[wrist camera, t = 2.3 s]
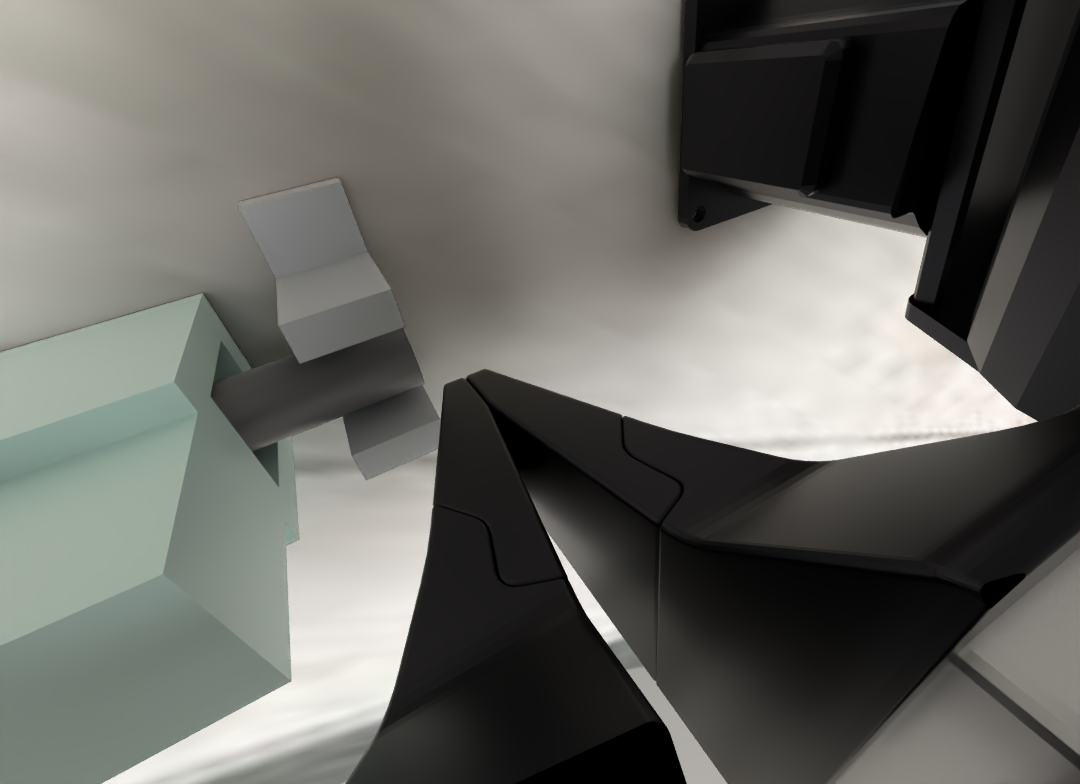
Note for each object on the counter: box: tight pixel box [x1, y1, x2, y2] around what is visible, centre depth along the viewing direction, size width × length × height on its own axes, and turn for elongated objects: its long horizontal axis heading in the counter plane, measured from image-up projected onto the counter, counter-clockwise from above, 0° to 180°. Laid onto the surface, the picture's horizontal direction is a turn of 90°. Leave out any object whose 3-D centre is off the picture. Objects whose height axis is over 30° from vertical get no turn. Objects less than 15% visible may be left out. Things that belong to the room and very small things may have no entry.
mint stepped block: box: [0, 293, 299, 784], centre depth 8 cm, size 4×4×7 cm
